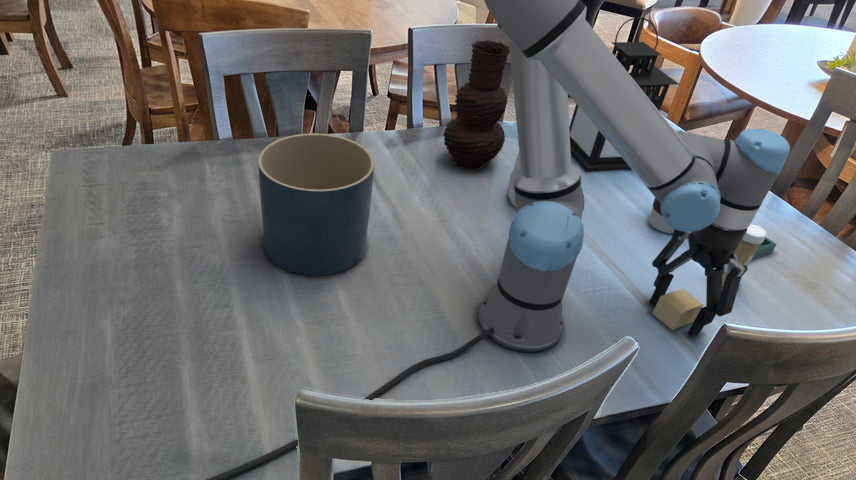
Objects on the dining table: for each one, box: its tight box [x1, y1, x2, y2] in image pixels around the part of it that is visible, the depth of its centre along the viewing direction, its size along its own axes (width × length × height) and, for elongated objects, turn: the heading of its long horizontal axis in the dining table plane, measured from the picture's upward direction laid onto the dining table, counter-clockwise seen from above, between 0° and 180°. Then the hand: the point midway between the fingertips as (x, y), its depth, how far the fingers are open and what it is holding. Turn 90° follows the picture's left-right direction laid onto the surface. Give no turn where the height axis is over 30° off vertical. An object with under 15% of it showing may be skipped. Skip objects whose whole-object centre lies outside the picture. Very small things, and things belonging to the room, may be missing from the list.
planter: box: [257, 133, 375, 277], centre depth 127 cm, size 22×22×20 cm
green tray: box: [752, 236, 778, 260], centre depth 140 cm, size 11×10×2 cm
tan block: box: [652, 288, 704, 331], centre depth 120 cm, size 6×5×4 cm
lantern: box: [569, 17, 680, 173], centre depth 160 cm, size 17×17×35 cm
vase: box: [442, 39, 510, 171], centre depth 154 cm, size 15×15×30 cm
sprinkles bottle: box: [722, 223, 768, 288], centre depth 126 cm, size 5×5×13 cm
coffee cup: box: [648, 197, 674, 234], centre depth 141 cm, size 10×10×15 cm
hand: (674, 316), depth 121 cm, fingers open, 9 cm apart
